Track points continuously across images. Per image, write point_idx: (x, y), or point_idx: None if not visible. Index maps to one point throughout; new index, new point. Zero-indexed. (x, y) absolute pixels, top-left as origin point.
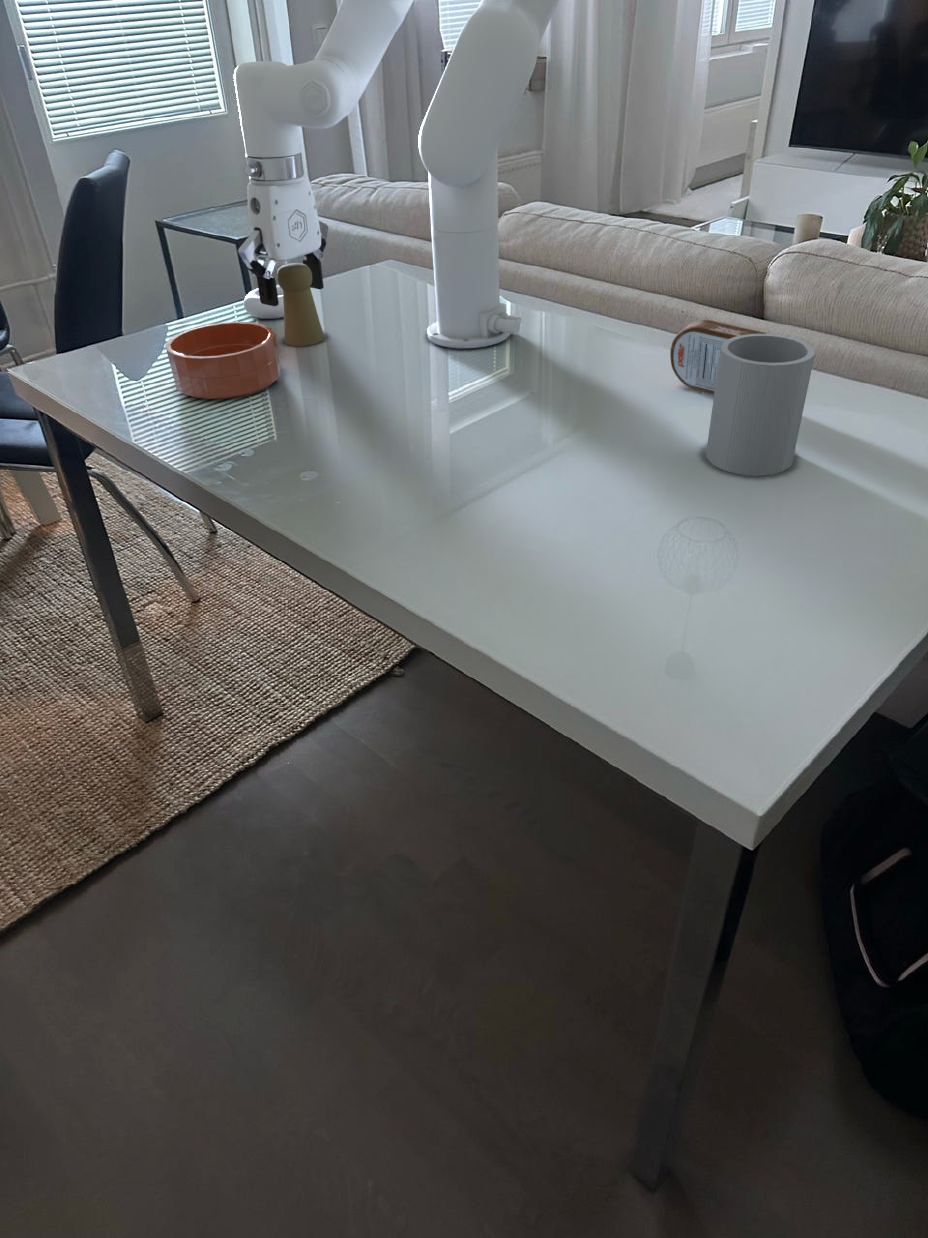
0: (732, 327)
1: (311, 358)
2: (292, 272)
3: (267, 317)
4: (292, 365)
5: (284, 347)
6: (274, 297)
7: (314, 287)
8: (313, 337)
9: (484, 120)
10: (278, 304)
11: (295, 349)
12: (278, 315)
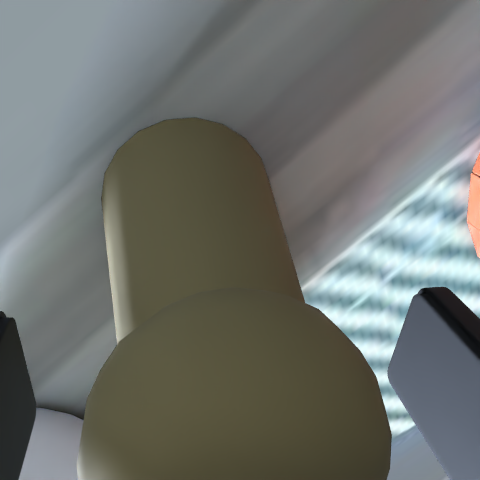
0: None
1: (375, 4)
2: (376, 433)
3: None
4: (465, 32)
5: (293, 207)
6: (476, 317)
7: (23, 354)
8: (217, 134)
9: None
10: (60, 452)
11: (298, 154)
12: (74, 417)
